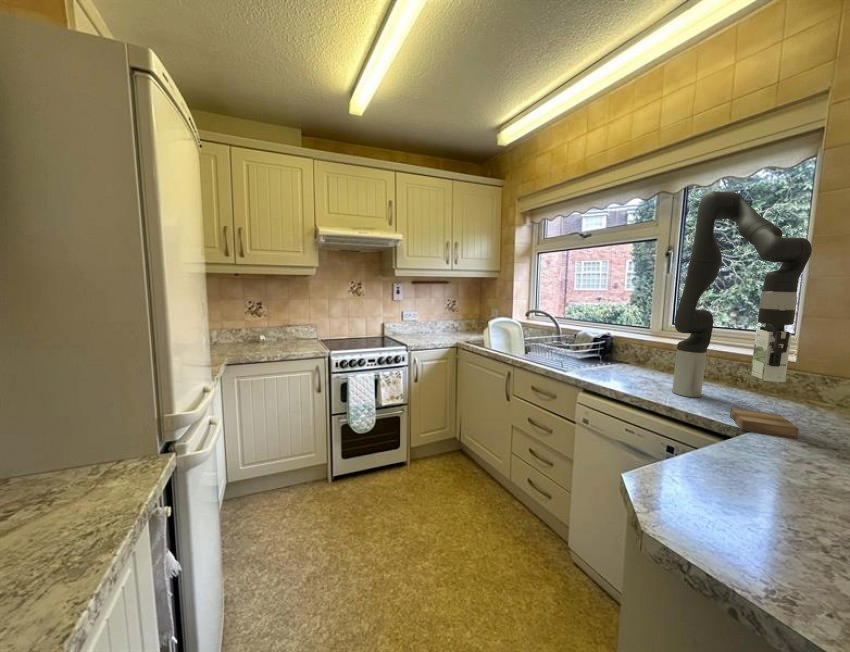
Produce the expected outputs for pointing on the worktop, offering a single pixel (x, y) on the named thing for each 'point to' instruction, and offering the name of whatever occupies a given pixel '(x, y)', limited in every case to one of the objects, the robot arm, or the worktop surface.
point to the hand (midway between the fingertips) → (769, 363)
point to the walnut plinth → (764, 423)
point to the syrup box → (762, 357)
